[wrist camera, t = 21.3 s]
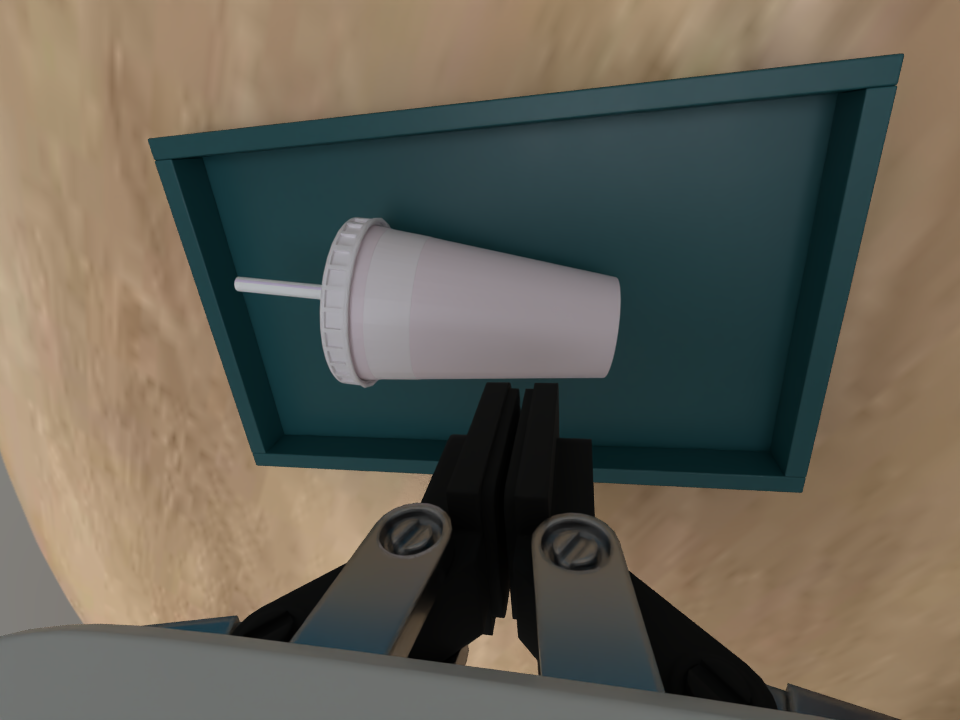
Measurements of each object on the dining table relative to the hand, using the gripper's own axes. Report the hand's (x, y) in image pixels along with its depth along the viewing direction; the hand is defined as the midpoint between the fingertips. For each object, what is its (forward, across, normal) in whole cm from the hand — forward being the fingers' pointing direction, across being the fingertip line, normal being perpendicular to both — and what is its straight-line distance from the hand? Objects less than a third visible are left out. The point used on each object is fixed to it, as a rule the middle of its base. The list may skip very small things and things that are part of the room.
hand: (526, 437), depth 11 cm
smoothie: (+8, -2, 0) cm, 8 cm away
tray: (+11, +2, 0) cm, 11 cm away
